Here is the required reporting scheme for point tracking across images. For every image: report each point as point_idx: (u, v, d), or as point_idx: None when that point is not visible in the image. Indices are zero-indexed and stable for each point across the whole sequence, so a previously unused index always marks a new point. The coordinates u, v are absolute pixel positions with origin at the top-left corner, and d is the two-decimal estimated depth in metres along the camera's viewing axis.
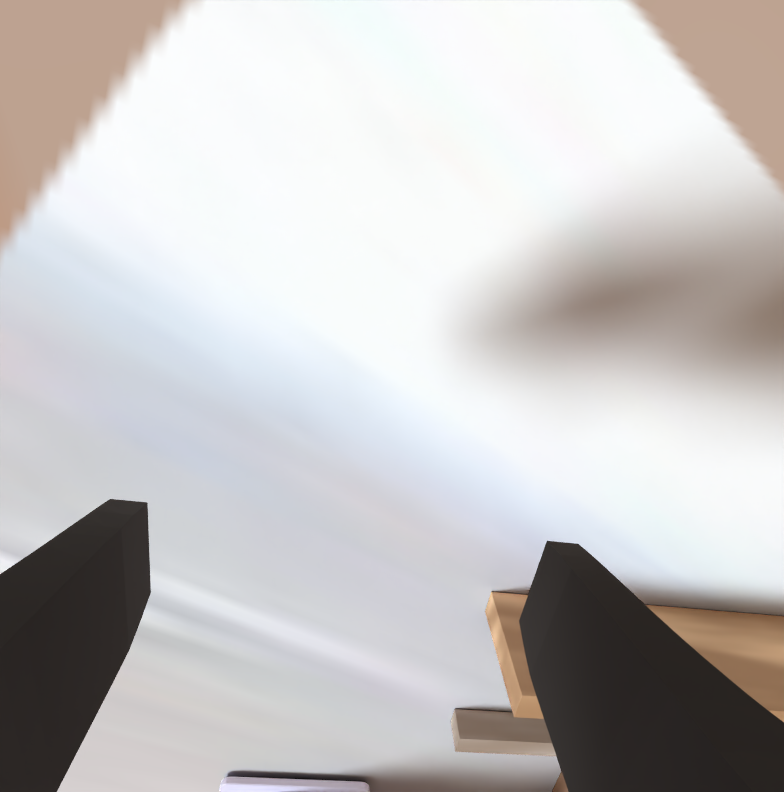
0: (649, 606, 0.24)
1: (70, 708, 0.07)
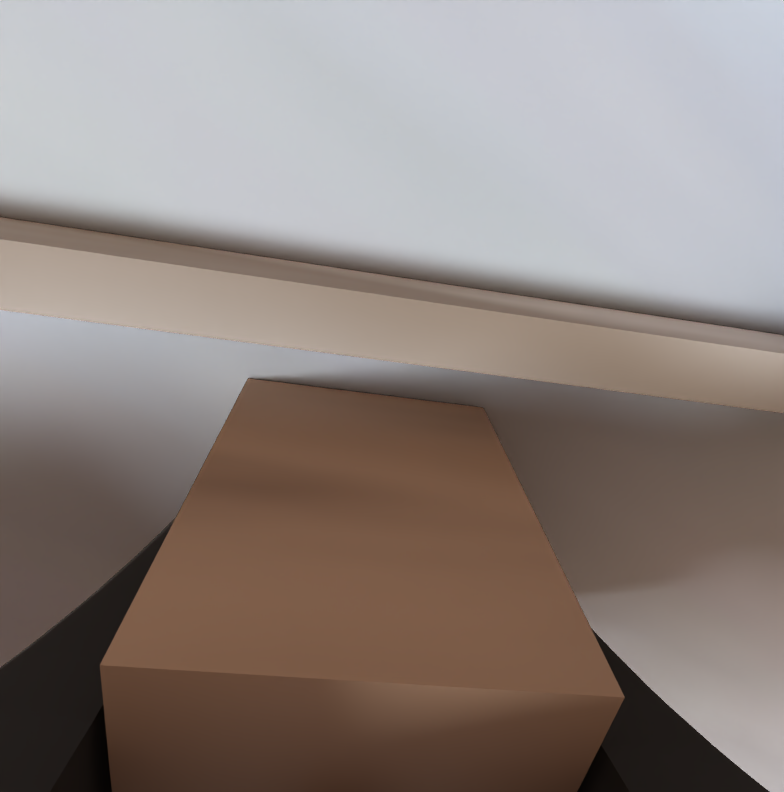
0: None
1: None
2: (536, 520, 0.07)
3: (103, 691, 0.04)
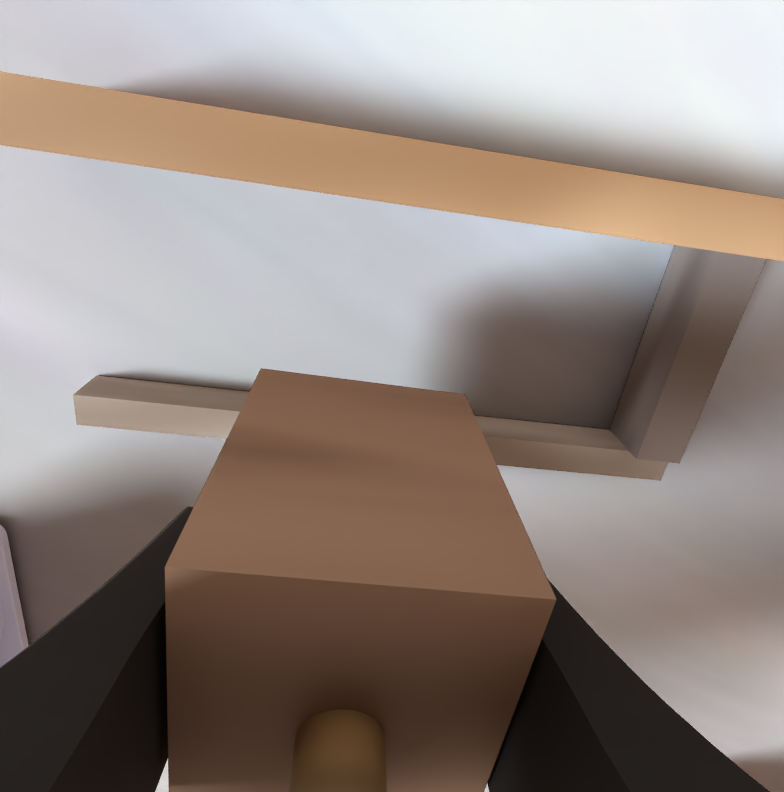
0: None
1: (166, 713, 0.07)
2: (502, 481, 0.09)
3: (166, 589, 0.06)
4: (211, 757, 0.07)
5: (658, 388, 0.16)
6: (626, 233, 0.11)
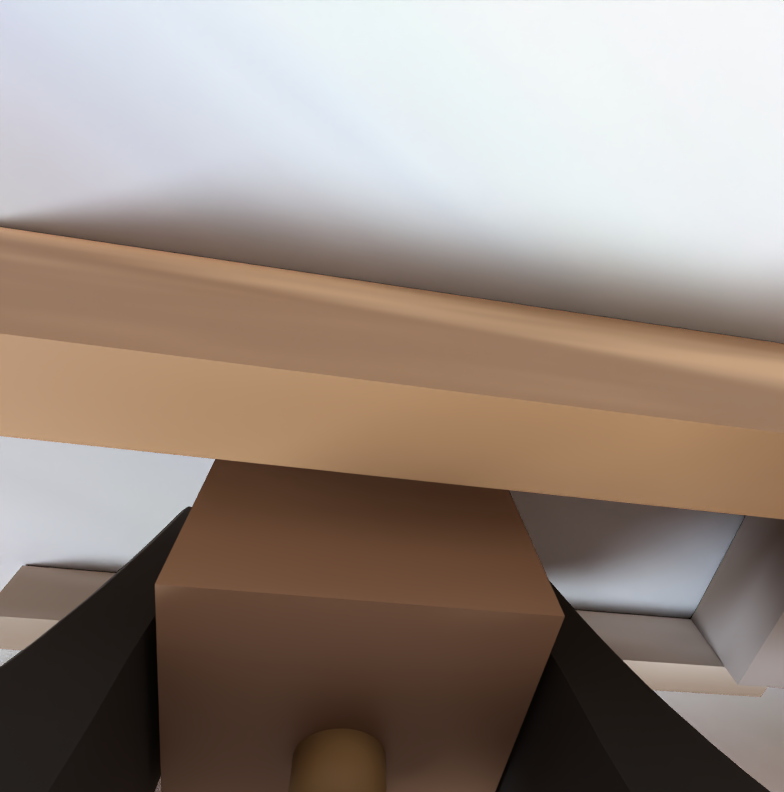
0: (386, 285, 0.10)
1: None
2: None
3: (156, 606, 0.06)
4: (205, 777, 0.07)
5: (776, 604, 0.12)
6: None
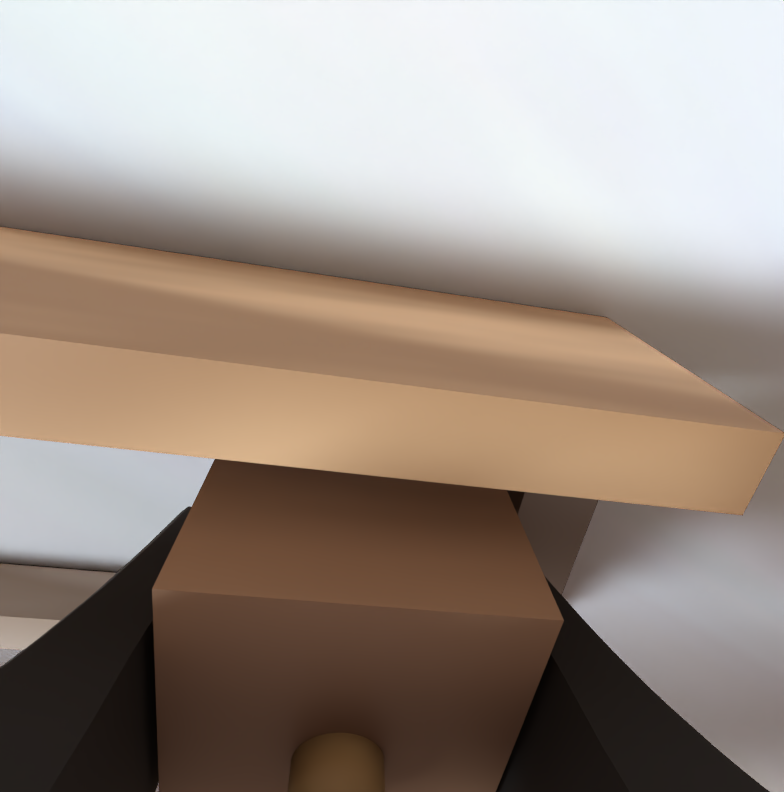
0: (15, 229, 0.09)
1: None
2: (506, 491, 0.08)
3: None
4: (203, 782, 0.07)
5: None
6: (295, 462, 0.06)
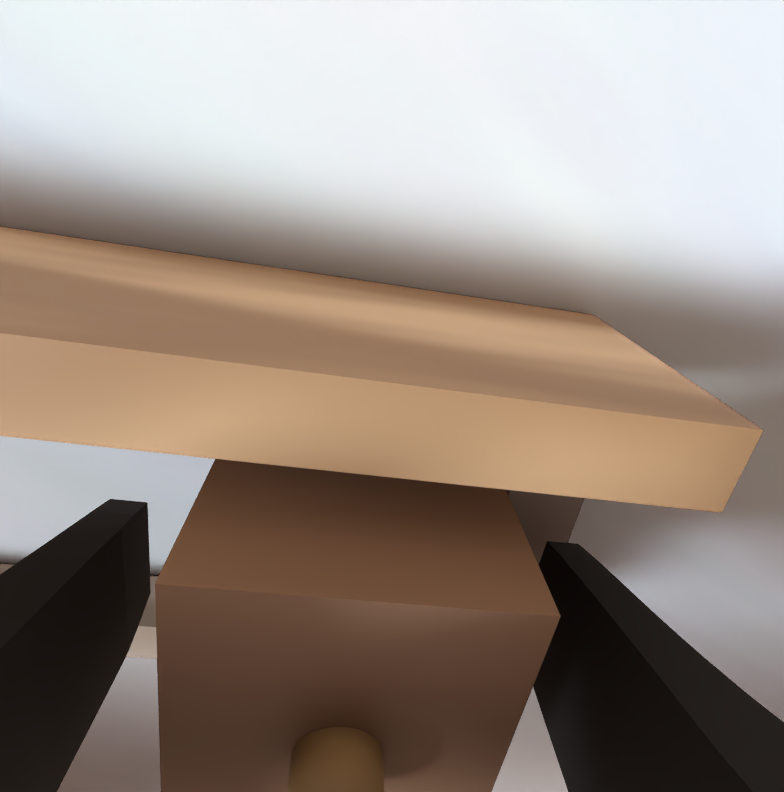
0: None
1: (70, 708, 0.07)
2: (504, 489, 0.08)
3: (156, 606, 0.06)
4: (205, 775, 0.07)
5: None
6: (269, 459, 0.06)
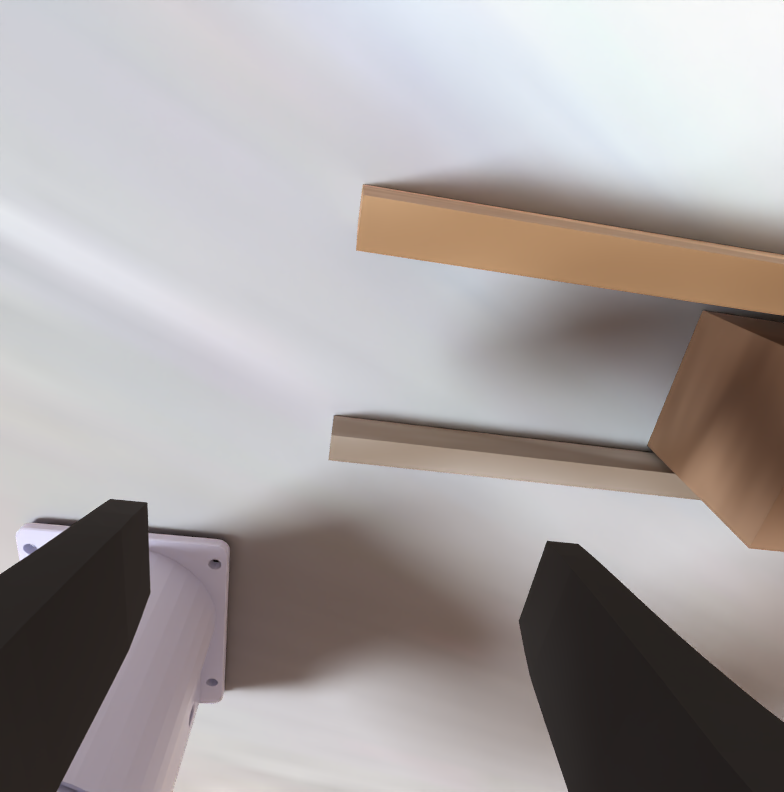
0: None
1: (70, 708, 0.07)
2: None
3: None
4: None
5: None
6: None
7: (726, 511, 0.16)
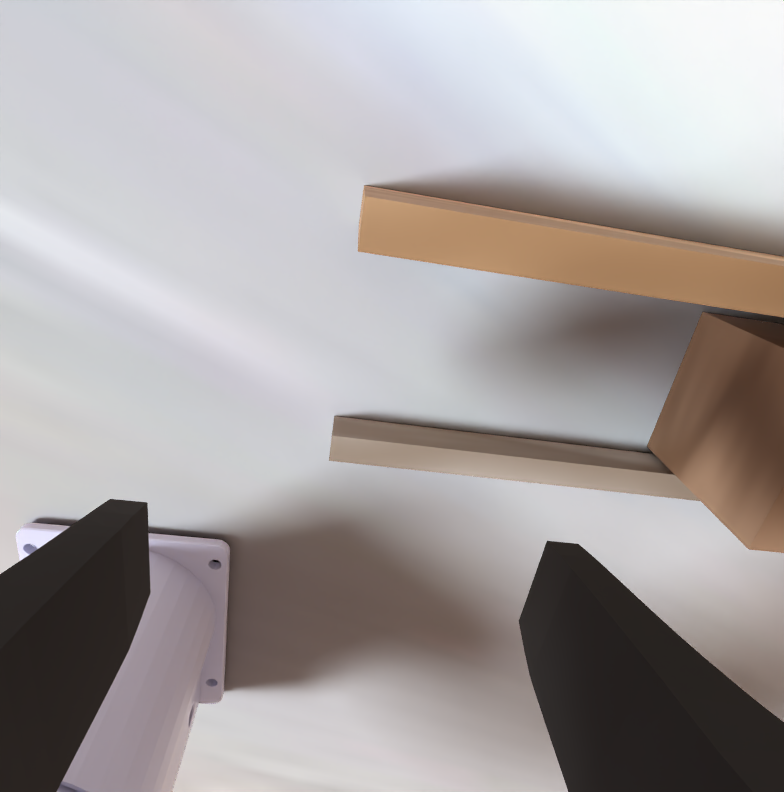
0: (598, 225, 0.17)
1: (70, 708, 0.07)
2: None
3: None
4: None
5: None
6: None
7: (726, 512, 0.16)
